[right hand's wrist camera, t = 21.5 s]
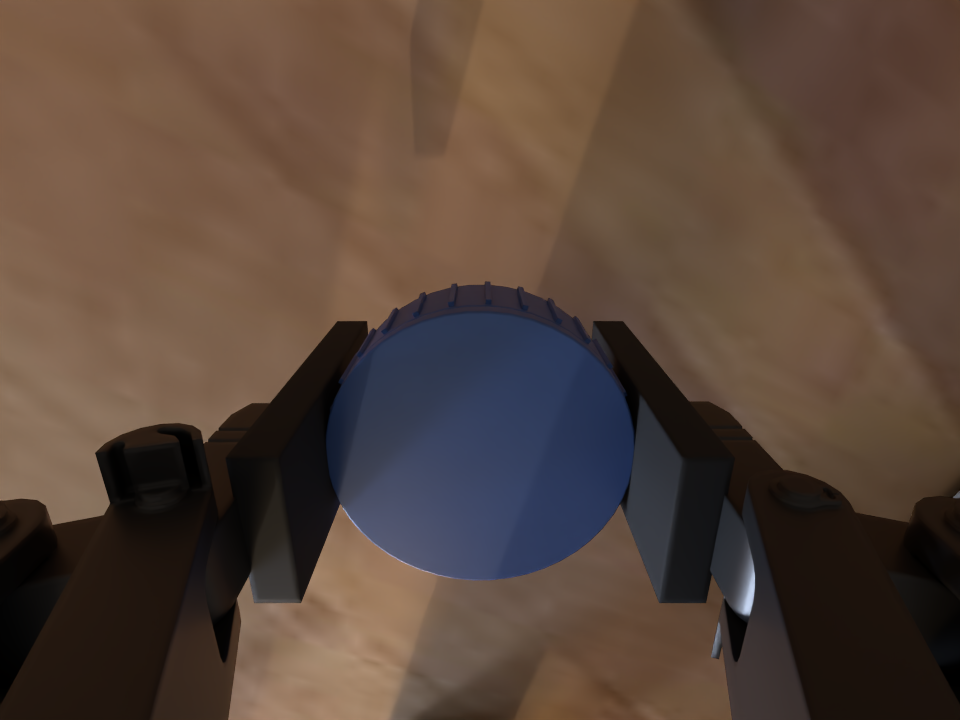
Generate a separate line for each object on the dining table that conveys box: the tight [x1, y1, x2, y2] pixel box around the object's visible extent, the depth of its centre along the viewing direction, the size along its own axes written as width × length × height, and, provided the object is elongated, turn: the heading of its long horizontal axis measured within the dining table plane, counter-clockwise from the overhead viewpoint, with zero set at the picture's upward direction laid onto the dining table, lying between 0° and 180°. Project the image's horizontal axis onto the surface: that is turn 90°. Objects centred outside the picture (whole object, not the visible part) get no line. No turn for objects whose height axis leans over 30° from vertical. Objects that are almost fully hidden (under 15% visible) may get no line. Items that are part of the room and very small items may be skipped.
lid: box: [326, 282, 635, 580], centre depth 11 cm, size 6×6×2 cm
